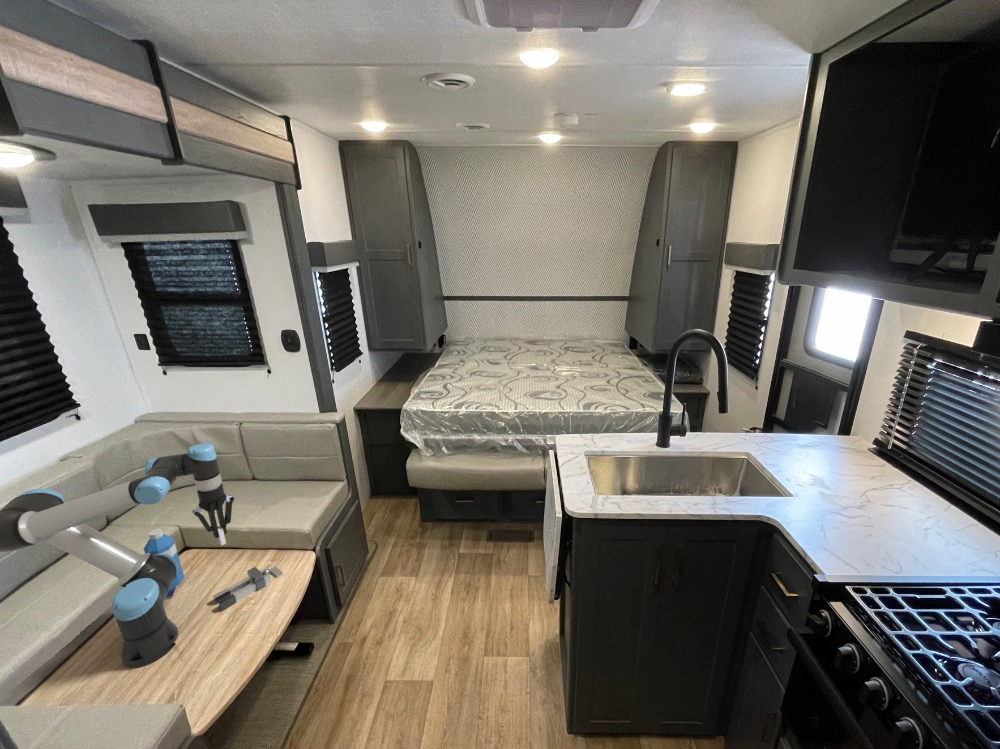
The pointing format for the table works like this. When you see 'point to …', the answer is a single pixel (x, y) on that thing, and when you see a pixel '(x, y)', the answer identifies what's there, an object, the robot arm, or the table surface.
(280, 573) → the tongs fixed
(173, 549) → the water bottle
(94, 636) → the table surface
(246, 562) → the table surface
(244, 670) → the table surface
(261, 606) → the table surface
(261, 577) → the collar
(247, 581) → the arm
